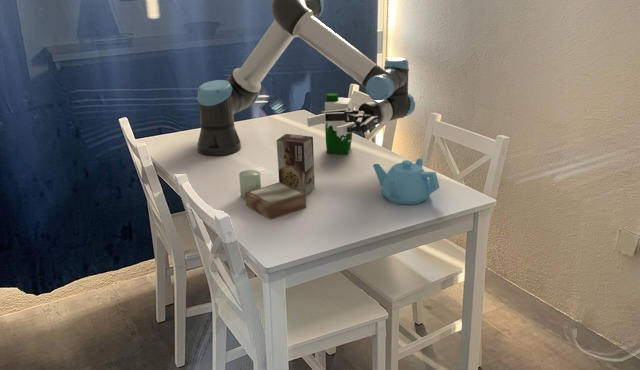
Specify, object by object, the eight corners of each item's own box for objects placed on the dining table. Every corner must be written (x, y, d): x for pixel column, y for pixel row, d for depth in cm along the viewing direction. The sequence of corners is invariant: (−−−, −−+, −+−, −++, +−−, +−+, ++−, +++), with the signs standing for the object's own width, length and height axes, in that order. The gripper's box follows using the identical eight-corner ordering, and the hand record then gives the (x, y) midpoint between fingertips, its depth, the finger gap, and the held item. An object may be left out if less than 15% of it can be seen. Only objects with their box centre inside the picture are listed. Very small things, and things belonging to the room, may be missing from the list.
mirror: (246, 205, 178) (245, 191, 176) (280, 194, 185) (280, 181, 183) (270, 219, 169) (269, 204, 168) (306, 207, 176) (305, 193, 175)
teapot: (388, 210, 173) (389, 174, 169) (371, 190, 187) (372, 155, 183) (440, 204, 177) (442, 168, 172) (420, 184, 190) (421, 150, 186)
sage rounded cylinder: (236, 195, 185) (235, 173, 182) (254, 190, 188) (252, 168, 186) (248, 202, 181) (246, 179, 178) (265, 196, 184) (264, 174, 181)
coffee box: (315, 187, 189) (314, 136, 183) (306, 195, 184) (304, 142, 178) (288, 183, 193) (286, 132, 187) (278, 191, 188) (275, 139, 181)
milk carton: (328, 146, 225) (327, 90, 217) (353, 147, 223) (353, 91, 216) (323, 154, 217) (322, 97, 209) (349, 155, 215) (349, 98, 208)
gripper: (403, 132, 192) (350, 148, 180) (348, 116, 210) (297, 130, 198) (403, 108, 189) (350, 123, 177) (348, 94, 207) (296, 106, 195)
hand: (322, 126), depth 187 cm, fingers open, 13 cm apart
